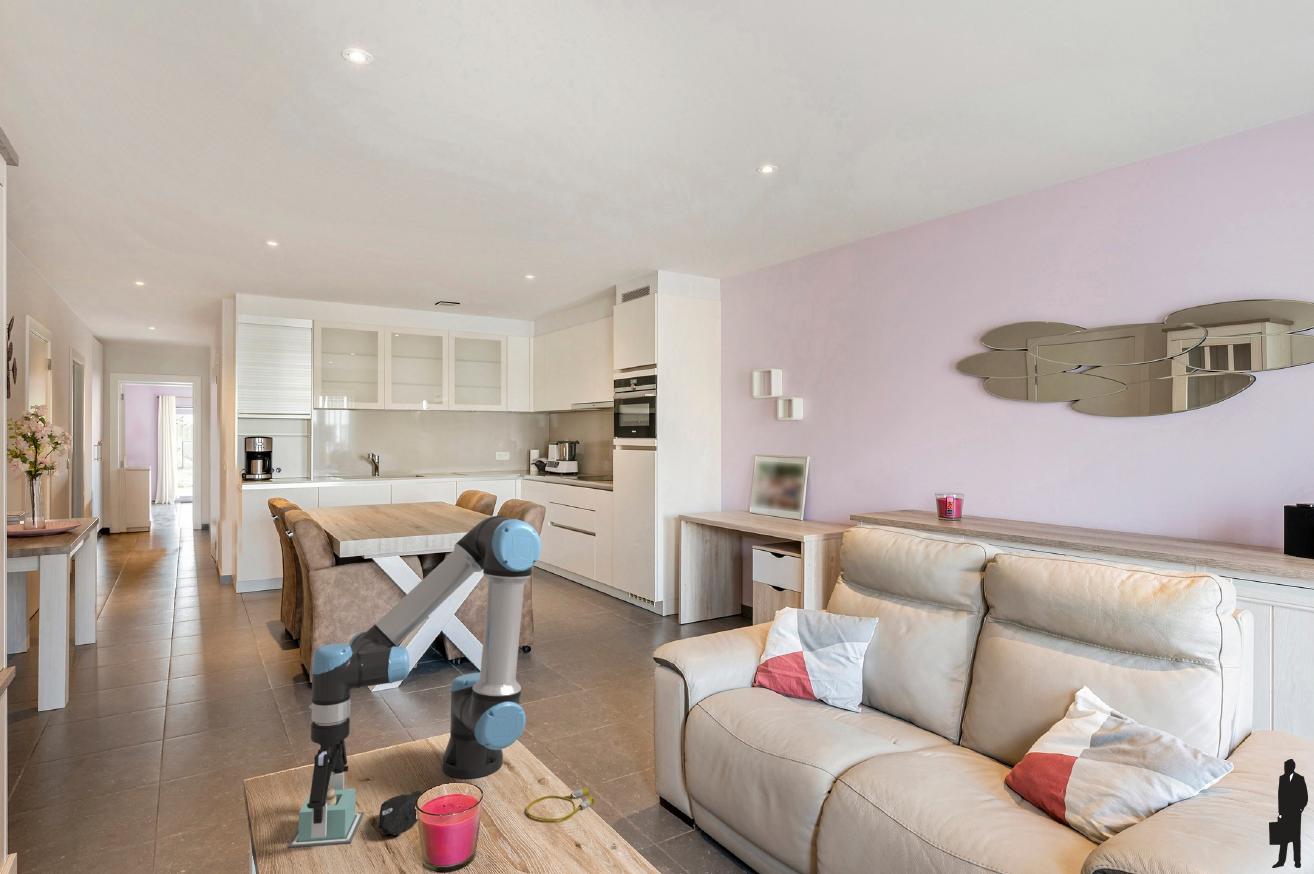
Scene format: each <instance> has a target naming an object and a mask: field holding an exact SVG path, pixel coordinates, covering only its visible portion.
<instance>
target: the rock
mask: <svg viewBox="0 0 1314 874" xmlns="http://www.w3.org/2000/svg"><path fill="white" fill-rule="evenodd" d="M421 794H423V792H422V791H421V790H415V791H412V792H411V793H409V794H406V793H402V794H399V795H395V796H393V797H390V798H389V799H387V800H385V801H384V802H383V803H381V805H380V810H379V814H378V815H379V816H378V818H379V819H378V830H379V831H381V834H382V835H383V836H386V835H389V834H390V835H393V836H399V835H401V834H402V833H403V832H406V831H408V830H410V829H412V828H413V827H414V825H415V824H416V823H417V822H418V821H417V819H416V809H415V806H416V800H417V798H418V797H419V796H420V795H421Z"/></svg>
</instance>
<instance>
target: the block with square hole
mask: <svg viewBox="0 0 1314 874" xmlns="http://www.w3.org/2000/svg"><path fill="white" fill-rule="evenodd" d="M356 792H357V790H356V788H344V789H342V790H334V795H336V805H327V829H326V837H322V838H311V823H312V808H311V809H309V808H307V804H308V803H309V800H310V795H309V796H308V797H307V798H306V800H305V802H304V804H303V805H302V807H301V809H300V810H299V812H298V829H299V833H298V842H302V841H316V840H329V839H342V838H345V837H346V834H347V832H348V830H349V828H350V826H351V824H352V822H353V819H354V817H355V813H356V796H357V795H356V794H357V793H356Z"/></svg>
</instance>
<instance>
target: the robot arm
mask: <svg viewBox="0 0 1314 874" xmlns="http://www.w3.org/2000/svg"><path fill="white" fill-rule="evenodd" d="M453 546H454V547H453V551H452V552H451V553H450V554H449V555H448V556H447V557H446V558H445V559H443V561H442V562H440V563H439V564H438V565H437V566H436V567H435V568H434V569H432V571H431V572H429V573H428V574H427V575H426V576H425V577H424V578H423V579H422V580H421V581H420V582H419V583H418V584H417V585H416V586H414V587H413V589H411V590H410V591H409V592H408V593H407V594H406V595H405V596H404V597H403V598H402V599H401V600H400V601H398V602H397V603H396V604H395V605H394V606H393V607H391V609H389V611H388V612H387V613H386V614H385V615H383V616H382V617H381V618H380V619H379V620H378V621H377V622H376V623H375V624H373V625H372V626H371V627H370V628H369V629H368V630H367V631H362V632H359V633H357V634H355V635H354V636H353V637H352V638H351V639H350V641H349V643H348V644H346V643H331V644H326V645H322V646H319V647H318V648H316V650H315V651H314V653H313V662H312V669H311V672H312V673H311V683H312V684H311V704H309V706H308V709H310V710H311V721H312V722H311V724H310V739H311V742H312V743H315V744H318V745H320V746H319V747H320V748H319V749H318V750H317V754H315V755H314V758H313V759H314V762H313V763H314V765H313V773H312V780H311V788H310V794H309V796H310V800H309V803H308V804H307V808H309V809H311V808H312V823H311V838H322V837H326V829H327V803H326V797H327V792H328V789H329V788H333V789H334V790H342V789H345V773H346V772H348V771H349V766H348V765H347V764H348V759H347V750H346V743H345V739H347V738H348V737H349V735H350V729H351V728H350V723H351V722H350V721H351V719H350V716H351V691H352V690H353V689H358V688H359V689H360V688H365V687H372V686H380V685H385V684H386V685H387V684H393V683H396V682H400V681H404V680H405V679H407V677H408V675H409V673H410V655H409V651H408V650H407V648H406V647H405V646H403V645H402V646H398V645H400V644H401V643H402V642H403V641H404V640H405V639H406V638H407V637H408V636H410V634H411V633H412V632H414V630H416V629H417V628H418V626H420V625H421V624H422V623H423V622H424V621H425V620H426V619H427V618H428V617H429V616H430V615H431V614H432V613H433V612H434V611H435V610H436V609H438V608H439V606H441V604H443V603H444V602H445V601H446V600H447V599H448V598H449V597H450V596H451V595H452V594H454V592H455V591H456V590H457V589H458V588H459V587H460V586H462V585H463V584H464V583H465V582H466V581H467V580H468V579H469V578H470V577H471V576H472V575H473V574H474V573H481V572H482V575H484V577H486V579H487V581H488V586H487V596H486V607H485V618H484V630H483V639H482V640H483V641H482V653H481V659H480V660H481V662H480V670H479V671H480V672H472V673H467V674H462V675H459V676H457V677H455V678H454V679H453V680H452V681H451V688H450V689H451V690H450V735H449V739H448V742H447V745H446V747H445V752H444V754H443V757H442V762H441V763H442V769H441V770H442V771H443V773H444V774H446V775H448V776H450V777H453V778H457V779H476V778H482V777H486V776H489V775H491V774H494V773H496V771H498V770H500V769H501V768H502V766H503V765H504V764H503V763H504V753H503V750H504V749H506V748H508V747H510V746H512V745H513V744H514V743H515V742H516V741H517V740H519V738H520V737H521V735H522V734H523V732H524V730H525V727H526V719H527V717H526V713H525V711H524V709H523V707H522V706H521V693H522V686H521V685H520V683H518V681H517V679H516V678H517V668H518V657H519V644H520V633H521V623H522V611H523V602H524V590H525V583H526V582H527V580H529V579H530V578H531V577H532V573H533V572H532V570H533V566H534V564H535V563H537V561H538V560H539V557H540V556H541V555H540V554H541V553H542V552H541V550H542V541H541V538H540V535H539V533H538V532H537V531H536V529H535V528H534V527H533V526H532V525H530V524H529V523H527V522H525V521H523V520H520V519H516V518H510V517H506V516H502V515H494V516H489V517H487V518H484V519H482V520H481V521H480V522H478V523H477V524H476V525H475V526H474V527H472V528H470V530H469V531H468V532H467V533H466V534H465V535H463V536H462V537H461V538H460V539H459V540H458V541H457V542H456V543H455V544H454V545H453Z"/></svg>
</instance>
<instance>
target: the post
mask: <svg viewBox="0 0 1314 874" xmlns="http://www.w3.org/2000/svg"><path fill="white" fill-rule="evenodd" d="M326 803H327V805H336V795H334V789H333V788H330V787H328V792H327V797H326Z"/></svg>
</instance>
